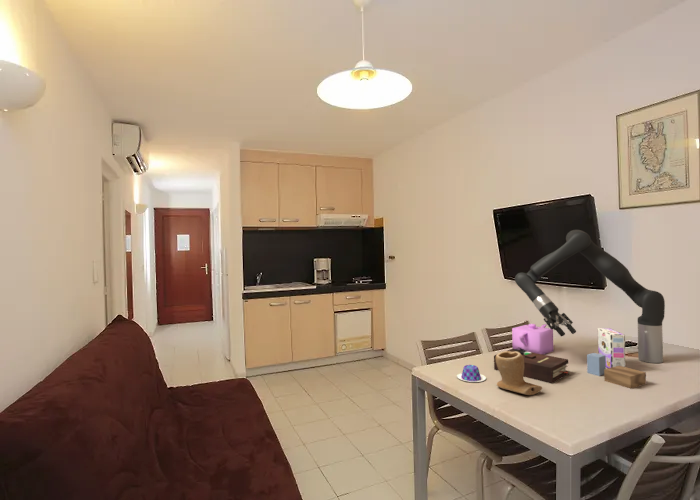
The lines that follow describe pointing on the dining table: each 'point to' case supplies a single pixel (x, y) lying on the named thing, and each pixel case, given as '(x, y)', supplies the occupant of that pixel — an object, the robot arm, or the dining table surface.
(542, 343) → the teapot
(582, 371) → the dining table surface
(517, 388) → the tan hollow piece
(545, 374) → the decorative book
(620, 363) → the candy box
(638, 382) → the walnut block
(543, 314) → the robot arm
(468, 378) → the pudding
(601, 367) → the slate-blue block
